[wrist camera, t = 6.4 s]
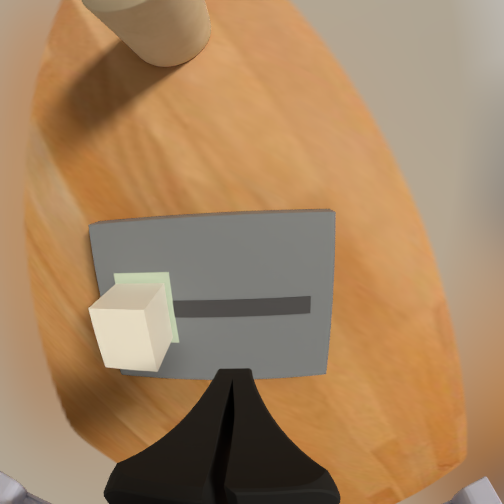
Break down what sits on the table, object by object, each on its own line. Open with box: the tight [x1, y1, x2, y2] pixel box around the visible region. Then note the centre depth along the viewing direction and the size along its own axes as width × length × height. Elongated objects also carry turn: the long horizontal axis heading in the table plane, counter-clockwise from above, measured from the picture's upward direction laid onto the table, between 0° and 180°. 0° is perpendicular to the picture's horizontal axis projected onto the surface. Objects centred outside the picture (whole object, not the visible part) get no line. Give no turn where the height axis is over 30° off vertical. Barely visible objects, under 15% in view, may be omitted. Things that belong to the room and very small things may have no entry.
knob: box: [88, 283, 173, 372], centre depth 17 cm, size 4×4×4 cm
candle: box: [82, 0, 211, 67], centre depth 11 cm, size 6×6×10 cm
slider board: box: [89, 209, 335, 380], centre depth 20 cm, size 12×16×2 cm
